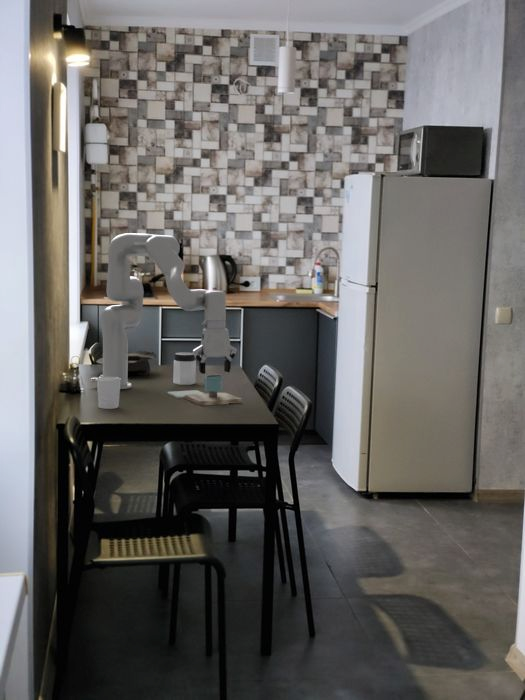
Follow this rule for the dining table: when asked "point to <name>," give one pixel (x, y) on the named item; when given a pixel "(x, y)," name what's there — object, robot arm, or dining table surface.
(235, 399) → the post base
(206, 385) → the cap
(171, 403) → the dining table surface
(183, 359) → the jar
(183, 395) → the mat
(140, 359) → the stone bowl
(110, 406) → the white cup
